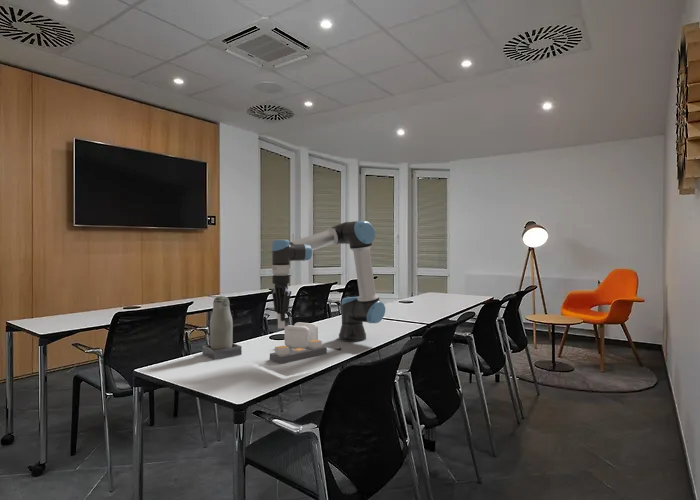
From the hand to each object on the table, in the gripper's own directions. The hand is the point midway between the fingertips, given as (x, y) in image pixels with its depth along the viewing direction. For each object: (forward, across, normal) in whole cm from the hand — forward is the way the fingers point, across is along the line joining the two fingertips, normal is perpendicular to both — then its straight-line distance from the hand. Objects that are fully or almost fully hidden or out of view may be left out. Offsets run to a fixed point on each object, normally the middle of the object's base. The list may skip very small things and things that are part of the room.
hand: (281, 328), depth 188 cm
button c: (+12, 0, 0) cm, 12 cm away
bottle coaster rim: (+16, -33, -13) cm, 39 cm away
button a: (+12, 0, +18) cm, 22 cm away
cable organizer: (+16, -18, +23) cm, 33 cm away
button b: (+14, 0, +9) cm, 17 cm away
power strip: (+15, 0, +15) cm, 22 cm away
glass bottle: (+16, -33, -13) cm, 39 cm away
